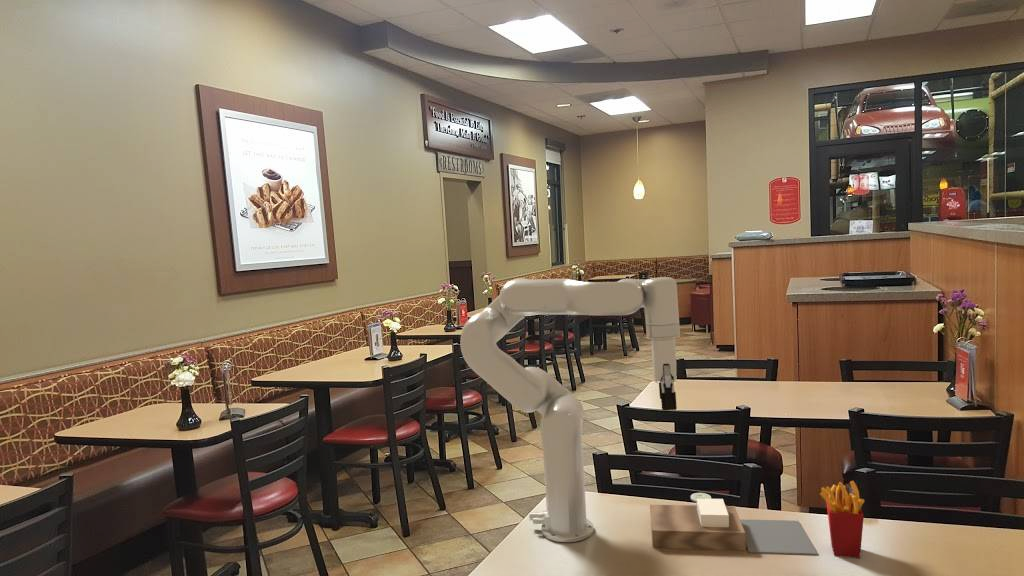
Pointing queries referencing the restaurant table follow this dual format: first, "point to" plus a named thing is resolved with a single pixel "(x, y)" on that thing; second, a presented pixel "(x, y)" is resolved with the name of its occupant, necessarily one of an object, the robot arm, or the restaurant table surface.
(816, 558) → the restaurant table surface
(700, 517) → the cream rectangular block
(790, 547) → the mat
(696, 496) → the sign
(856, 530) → the french fries
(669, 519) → the board
